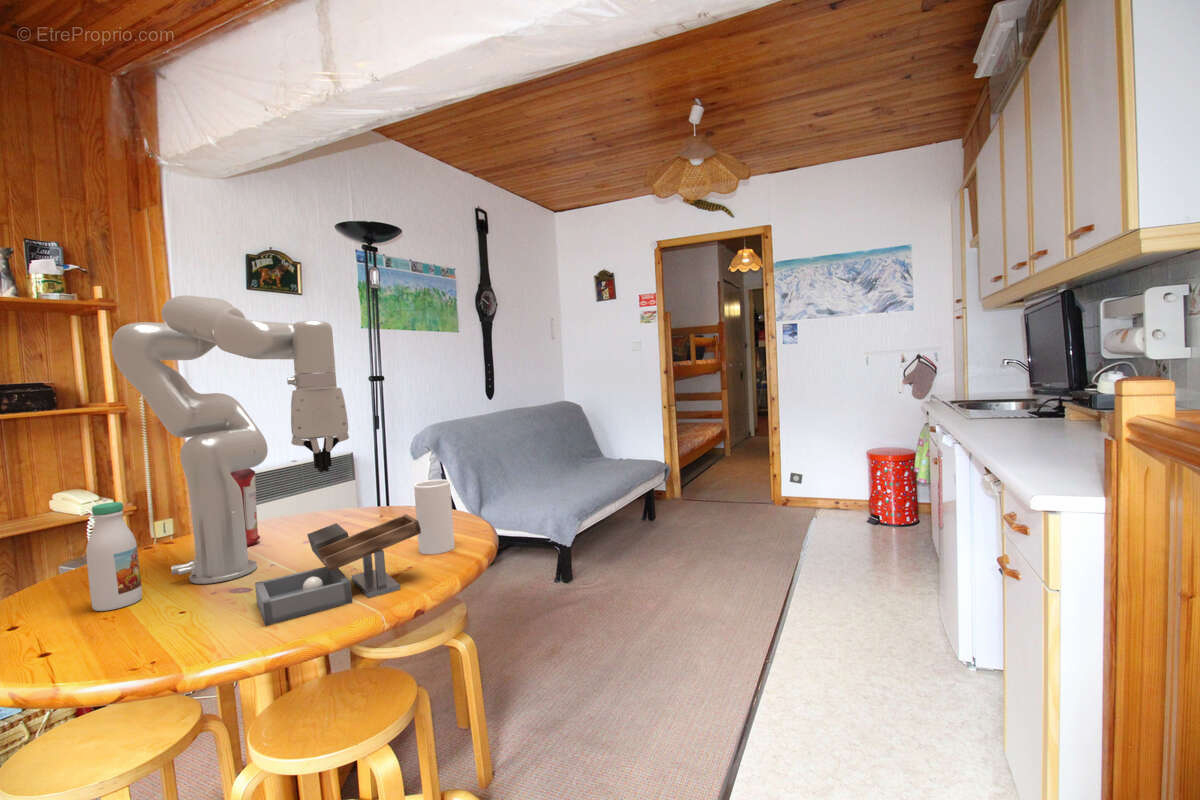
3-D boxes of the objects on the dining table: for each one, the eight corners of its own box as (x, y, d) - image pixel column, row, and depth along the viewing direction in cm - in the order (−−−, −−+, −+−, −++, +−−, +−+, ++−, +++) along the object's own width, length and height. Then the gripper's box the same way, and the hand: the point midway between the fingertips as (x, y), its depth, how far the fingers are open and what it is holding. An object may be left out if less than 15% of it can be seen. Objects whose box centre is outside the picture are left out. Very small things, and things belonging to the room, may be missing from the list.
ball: (302, 584, 108) (321, 576, 110) (298, 579, 111) (318, 571, 113) (307, 601, 109) (327, 593, 111) (304, 596, 112) (323, 587, 114)
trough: (395, 517, 134) (391, 502, 133) (421, 533, 119) (416, 516, 119) (312, 550, 124) (307, 534, 123) (330, 572, 109) (324, 553, 108)
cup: (449, 553, 135) (444, 485, 134) (414, 555, 136) (408, 487, 135) (458, 542, 144) (453, 478, 143) (425, 544, 144) (420, 480, 143)
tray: (265, 625, 101) (263, 603, 100) (257, 603, 111) (255, 582, 111) (352, 602, 109) (350, 581, 109) (336, 583, 120) (335, 564, 119)
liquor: (235, 542, 155) (225, 438, 154) (265, 539, 157) (256, 435, 155) (224, 550, 148) (213, 441, 147) (256, 547, 150) (246, 438, 148)
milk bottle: (101, 615, 110) (89, 510, 109) (85, 608, 114) (74, 507, 113) (149, 600, 116) (139, 501, 115) (133, 593, 120) (123, 498, 119)
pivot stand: (368, 598, 111) (364, 556, 110) (351, 580, 121) (348, 542, 121) (400, 589, 114) (397, 549, 114) (381, 572, 125) (378, 535, 124)
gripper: (277, 384, 112) (285, 479, 113) (359, 380, 121) (365, 468, 122) (272, 384, 118) (279, 474, 119) (350, 380, 127) (356, 464, 128)
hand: (323, 470), depth 120 cm, fingers closed
